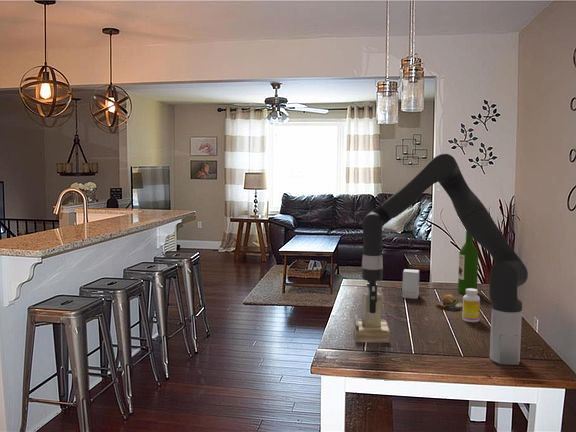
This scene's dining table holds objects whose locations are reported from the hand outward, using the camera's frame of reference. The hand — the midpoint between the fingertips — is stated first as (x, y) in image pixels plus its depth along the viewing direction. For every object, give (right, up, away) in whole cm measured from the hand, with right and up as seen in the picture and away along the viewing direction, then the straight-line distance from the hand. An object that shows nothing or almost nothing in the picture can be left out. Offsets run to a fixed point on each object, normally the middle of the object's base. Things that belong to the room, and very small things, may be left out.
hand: (371, 309), depth 203 cm
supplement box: (+28, -4, +59) cm, 65 cm away
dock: (0, -10, +1) cm, 10 cm away
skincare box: (0, -6, +1) cm, 6 cm away
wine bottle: (+57, -3, +66) cm, 88 cm away
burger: (+41, -6, +41) cm, 58 cm away
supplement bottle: (+44, -8, +21) cm, 49 cm away
